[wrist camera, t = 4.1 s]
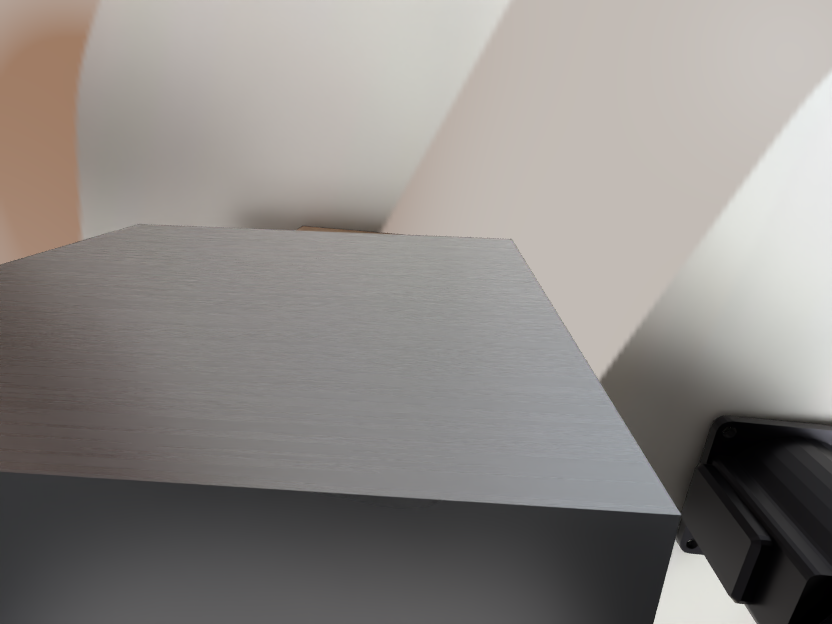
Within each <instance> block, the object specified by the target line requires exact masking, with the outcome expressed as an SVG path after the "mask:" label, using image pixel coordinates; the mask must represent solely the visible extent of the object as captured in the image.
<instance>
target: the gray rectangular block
mask: <svg viewBox="0 0 832 624" xmlns="http://www.w3.org/2000/svg"><path fill="white" fill-rule="evenodd" d="M680 519H681V514H680V512H679V510H678V509H677V507H676V506H675V504H674V502H673V501H672V499H671V497H670V496H669V494H668V492H667V491H666V489H665V488H664V486H663V484H662V483H661V481H660V479H659V478H658V476H657V475H656V473H655V471H654V470H653V468H652V466H651V465H650V463H649V462H648V460H647V458H646V457H645V455H644V453H643V452H642V450H641V449H640V447H639V445H638V444H637V442H636V440H635V439H634V437H633V436H632V434H631V432H630V431H629V429H628V427H627V426H626V424H625V423H624V421H623V419H622V418H621V416H620V414H619V413H618V411H617V410H616V408H615V406H614V405H613V403H612V401H611V400H610V398H609V397H608V395H607V393H606V392H605V390H604V388H603V387H602V385H601V383H600V382H599V380H598V379H597V377H596V375H595V374H594V372H593V370H592V369H591V367H590V366H589V364H588V362H587V361H586V359H585V358H584V356H583V354H582V353H581V351H580V350H579V348H578V346H577V344H576V343H575V341H574V340H573V338H572V336H571V335H570V333H569V332H568V330H567V328H566V327H565V325H564V323H563V322H562V320H561V318H560V317H559V315H558V314H557V312H556V310H555V309H554V307H553V305H552V304H551V302H550V301H549V299H548V297H547V296H546V294H545V292H544V291H543V289H542V288H541V286H540V284H539V283H538V281H537V279H536V278H535V276H534V274H533V273H532V271H531V270H530V268H529V267H528V265H527V263H526V261H525V260H524V258H523V257H522V255H521V254H520V252H519V250H518V249H517V247H516V245H515V244H514V242H513V240H512V239H494V238H471V237H446V236H445V237H444V236H420V235H396V234H371V233H346V232H321V231H297V230H272V229H247V228H222V227H197V226H172V225H147V224H137V225H134V226H130V227H127V228H124V229H120V230H117V231H113V232H110V233H106V234H103V235H100V236H96V237H93V238H89V239H86V240H83V241H79V242H76V243H73V244H69V245H66V246H62V247H59V248H55V249H52V250H49V251H45V252H42V253H39V254H35V255H32V256H28V257H25V258H21V259H18V260H14V261H11V262H8V263H4V264H1V265H0V624H653V622H654V619H655V615H656V611H657V607H658V603H659V599H660V596H661V592H662V588H663V584H664V580H665V576H666V572H667V569H668V565H669V561H670V557H671V553H672V549H673V546H674V542H675V538H676V534H677V530H678V526H679V523H680Z"/></svg>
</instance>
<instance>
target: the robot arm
mask: <svg viewBox="0 0 832 624" xmlns="http://www.w3.org/2000/svg"><path fill="white" fill-rule="evenodd" d="M727 427H731V428H730V430H729V431H727V432H723V431H724V429H726V428H727ZM681 518H682V519H681V522H680V525H679V529H678V532H677V535H676V540H677V542H678V544H679V546H680V548H681V549H682V550H683V551H684V552H686V553H691V554H701V555H705V557H706V559H707V560H708V562H709V564H710V565H711V567H712V569H713V570H714V572H715V574H716V575H717V577H718V578H719V580H720V582H721V583H722V585H723V587H724V588H725V590H726V592H727V593H728V595H729V596H730V597H731V598H732V600H733V601H734V602H735V603H739V604H745V606H746V607H747V609H748V611H749V612H750V614H751V615H752V617H753V619H754V620H755V622H756V623H757V624H832V426H831V425H821V424H810V423H800V422H789V421H778V420H768V419H757V418H747V417H736V416H722V417H719V418H717V419H716V420H715V421H714V422H713V423H712V425H711V428H710V431H709V434H708V438H707V441H706V444H705V447H704V450H703V453H702V456H701V460H700V463H699V465H698V466H697V467H696V468H695V471H694V474H693V477H692V481H691V484H690V487H689V490H688V493H687V496H686V500H685V503H684V506H683V509H682V512H681ZM692 539H693V540H692ZM689 540H691V541H689ZM687 541H688V542H687Z"/></svg>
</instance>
